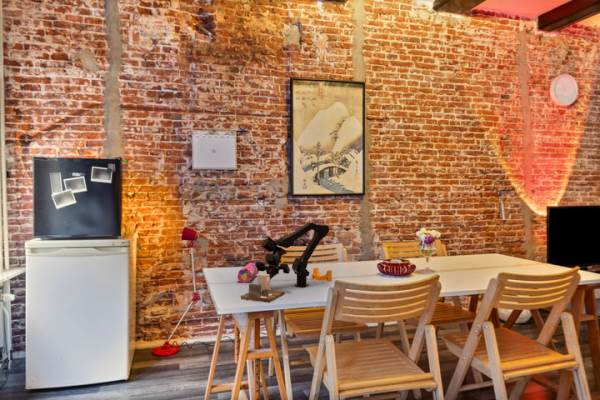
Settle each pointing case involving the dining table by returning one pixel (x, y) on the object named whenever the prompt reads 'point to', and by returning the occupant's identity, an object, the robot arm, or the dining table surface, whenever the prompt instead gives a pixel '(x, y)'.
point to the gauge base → (275, 295)
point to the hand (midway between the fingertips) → (267, 280)
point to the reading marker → (265, 292)
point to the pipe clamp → (318, 276)
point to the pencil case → (247, 273)
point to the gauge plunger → (264, 282)
